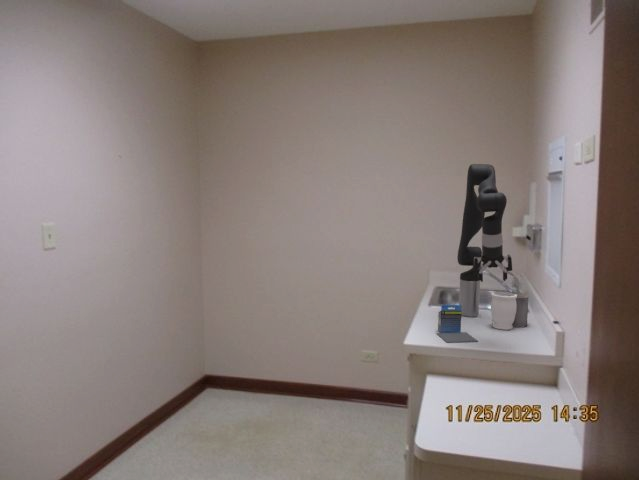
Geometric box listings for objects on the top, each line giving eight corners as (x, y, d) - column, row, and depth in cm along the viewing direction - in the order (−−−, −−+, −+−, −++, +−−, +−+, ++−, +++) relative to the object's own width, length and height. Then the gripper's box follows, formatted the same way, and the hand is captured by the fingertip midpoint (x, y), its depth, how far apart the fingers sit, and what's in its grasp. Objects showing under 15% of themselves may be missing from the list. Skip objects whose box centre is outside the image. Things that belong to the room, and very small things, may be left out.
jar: (499, 331, 202) (500, 297, 201) (485, 324, 212) (486, 292, 211) (520, 329, 205) (522, 296, 204) (505, 323, 215) (507, 290, 213)
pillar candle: (506, 320, 220) (507, 288, 218) (528, 323, 215) (530, 291, 213) (501, 325, 212) (503, 292, 210) (525, 328, 207) (526, 295, 205)
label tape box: (457, 330, 204) (458, 302, 203) (460, 333, 200) (462, 304, 199) (437, 330, 204) (438, 302, 203) (440, 333, 200) (441, 304, 198)
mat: (436, 334, 199) (436, 333, 199) (466, 333, 200) (466, 332, 200) (446, 342, 187) (446, 341, 187) (478, 341, 189) (478, 340, 189)
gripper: (510, 238, 185) (510, 275, 191) (472, 240, 188) (473, 277, 194) (513, 245, 178) (513, 284, 184) (473, 247, 182) (475, 285, 187)
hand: (492, 280), depth 189 cm, fingers open, 8 cm apart
